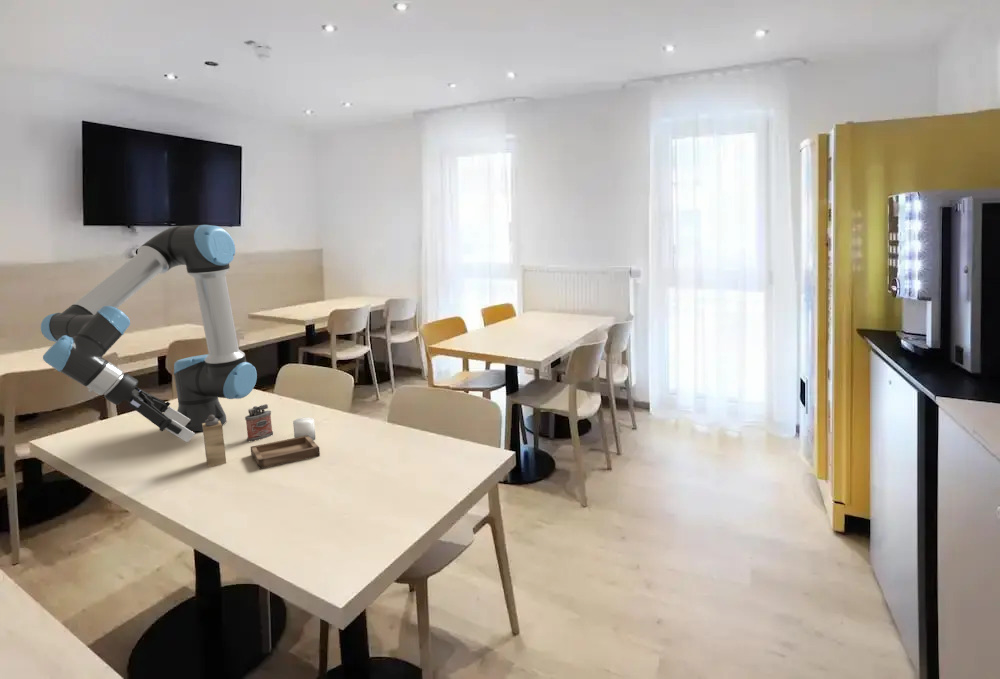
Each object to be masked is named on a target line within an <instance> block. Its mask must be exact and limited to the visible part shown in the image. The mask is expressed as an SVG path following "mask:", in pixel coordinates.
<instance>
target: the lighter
mask: <svg viewBox="0 0 1000 679" xmlns="http://www.w3.org/2000/svg"><path fill="white" fill-rule="evenodd" d="M266 409H269V404H267V403H266V404H265V403H264V404H261V405H259V406H258V405H255V406H253V407H252V408H248V409H247V410H248V411H247V412H248V415H246V416H245V417H244V420H245V421H246V422H245V423H246V432H247V434H246V435H247V439H246V440H247V442H249V441H252V442H256V441H259V439H260V440H264V439H267V438H269V437H271V435H272V436H273V434H274V431H273V427H272V426H273V424H272V412H271V410H266ZM263 438H264V439H263ZM255 440H256V441H255Z"/></svg>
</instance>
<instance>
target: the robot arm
mask: <svg viewBox="0 0 1000 679" xmlns="http://www.w3.org/2000/svg"><path fill="white" fill-rule="evenodd" d="M136 253H137V254H136V255H134V256H133V257H131V258H130V259H129V260H128V261H126V262H125V263H124V264H123V265H121V266H120V267H119V268H118V269H116V270H114V272H113V273H111V274H110V275H109V276H108V277H106V278H105V279H103V280H102V281H101V282H99V284H97V285H96V286H94V287H93V288H92V289H91V290H89V291H88V292H87V293H86V294H84V295H83V296H82V297H81V298H79V299H78V300H77V301H75V302H73V303H72V305H70V306H69V307H67V308H66V309H65V310H63V311H62V312H55V313H50V314H48V315H46V316H45V317H44V318H43V319H42V320H41V323H40V332H41V333H42V335H43V336H44V338H45V339H47V340H48V341H50V342H55V343H53V344H52V345H51V347H50V348H48V349H47V350H46V352H45V353H43V355H42V360H43V361H44V363H46V364H48V365H49V366H51V368H54V369H55V370H56V371H58V372H59V373H62V374H63V375H65V376H67V377H68V378H70V379H72V380H74V381H76V382H77V383H79V384H81V385H83V386H84V387H86V388H87V389H88V390H87V391H88V392H89V393H92V392H94V393H96V394H98V395H99V396H103V395H104V399H106V400H107V401H109V402H111V403H112V404H113V405H114V406H115V405H116V406H118V405H120V404H122V403H123V402H124V401H126V402H128V407H129V408H131V409H132V410H134V411H136V412H138V414H140V415H141V416H142V417H144V418H146V419H147V420H148V421H149V422H151V423H152V424H153V425H155V426H157V427H158V428H159V431H160V432H164V430H166V431H167V432H170V433H171V434H172V435H174V436H176V437H178V438H179V439H181V440H182V441H184V442H185V443H189V442H190V440H192V438H193V437H194V436H195V435H196V432H192V431H201V432H203V426H202V424H203V423H205V420H207V419H208V416H209V415H214V416H215V418H217V419H218V421H220V422H221V424H222V426H224V425H225V424H226V423H227V415H226V412H225V410H224V408H223V407H222V405H221V403H220V400H219V398H220V399H221V398H223V399H227V400H233V399H234V400H239V399H244V398H245V397H248V396H249V395H250V394H251V392H252V391H253V390H254V388H255V385H256V383H257V379H258V377H257V376H258V374H257V372H258V371H257V370H256V367H255V366H254V365H253V364H252V363H250V362H248V361H247V359H246V353H245V352H244V351H242V350H240V348H239V342H238V338H237V337H238V336H237V331H236V327H235V325H236V324H235V321H234V314H233V309H232V303H231V298H230V293H229V288H228V287H229V286H228V283H227V282H228V281H227V273H228V272H229V271H230V269H231V267H230V264H231V263H232V262H233V260H234V258H235V255H236V245H235V241H234V240H233V238H232V236H231V235H230V233H229V232H228V231H226V230H225V229H224V228H223V227H221V226H219V225H210V224H200V225H176V226H175V225H174V226H172V227H168V228H167V229H164V230H163V231H161V232H160V233H158V234H156V235H154V236H153V237H152V238H150V239H149V240H147V241H146V242H144V244H142V245H141V246H139V247H138V249H137V252H136ZM181 265H182V266H183V265H184V266H185V267H186V268H185V269H186V272H187V274H188V275H189V276H191V277H192V278H193V280H194V283H195V288H196V293H197V299H198V305H199V310H200V314H201V320H202V325H203V330H204V335H205V341H206V346H207V347H206V348H207V352H208V353H206V354H200V355H194V356H189V357H185V358H181V359H177V360H176V361H175V362H174V364H173V370H174V372H173V375H174V382H175V389H176V395H177V396H176V397H177V402H178V404H177V405H178V406H177V410H176V409H174V408H172V407H171V406H170V405H171V402H169V401H165V400H162V399H160V398H159V397H156V396H154V395H152V394H150V393H148V392H146V391H145V390H142V389H141V388H139V387H138V384H139V380H138V379H137V378H135V377H133V376H132V375H131V374H128V373H124V370H123V369H121V368H120V367H118V366H117V365H115V364H113V363H112V362H110V361H108V360H106V359H105V358H103V357H104V355H105V354H106V353H107V352H108V351H110V349H111V348H112V346H114V345H115V343H116V342H118V340H119V339H120V338H121V337H122V336H124V333H126V331H127V330H128V328H129V327H130V325H131V320H130V318H129V317H128V315H126V313H125V312H124V311H122V310H121V309H119V307H121V305H123V304H124V303H126V302H127V300H130V298H131V297H132V296H133V295H135V294H136V293H137V292H138V291H140V290H141V289H142V288H143V287H145V286H146V285H147V284H148V283H149V282H150V281H152V280H153V279H154V278H155V277H156V276H158V275H159V274H166V273H167V272H169V270H171V269H172V268H175V267H178V266H181ZM225 422H226V423H225ZM224 423H225V424H224ZM223 424H224V425H223Z"/></svg>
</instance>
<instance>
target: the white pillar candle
mask: <svg viewBox="0 0 1000 679" xmlns="http://www.w3.org/2000/svg"><path fill="white" fill-rule="evenodd" d="M292 426H293V433H294V434H293V438H297V437H302V436H307V435H308V436H309V437H310V438H311V439H312V440H313V441H315V440H316V429H315V419H314V418H313V417H300V418H297V419H294V420H293V421H292Z"/></svg>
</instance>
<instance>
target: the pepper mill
mask: <svg viewBox="0 0 1000 679" xmlns="http://www.w3.org/2000/svg"><path fill="white" fill-rule="evenodd" d="M202 426H203V431H202V432H203V435H202V436H203V443H204V451H205V459H206V464H207V466H208V468H210V467H215V466H219V465H220V466H221V465H225V464H227V458H226V447H225V441H224V440H225V439H224V432H223V431H224V429H223V425H222V424H221V422H220V421H218V419H217V418H215V416H214V415H209V416H208V419H207V420H205V423H203V424H202Z"/></svg>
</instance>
